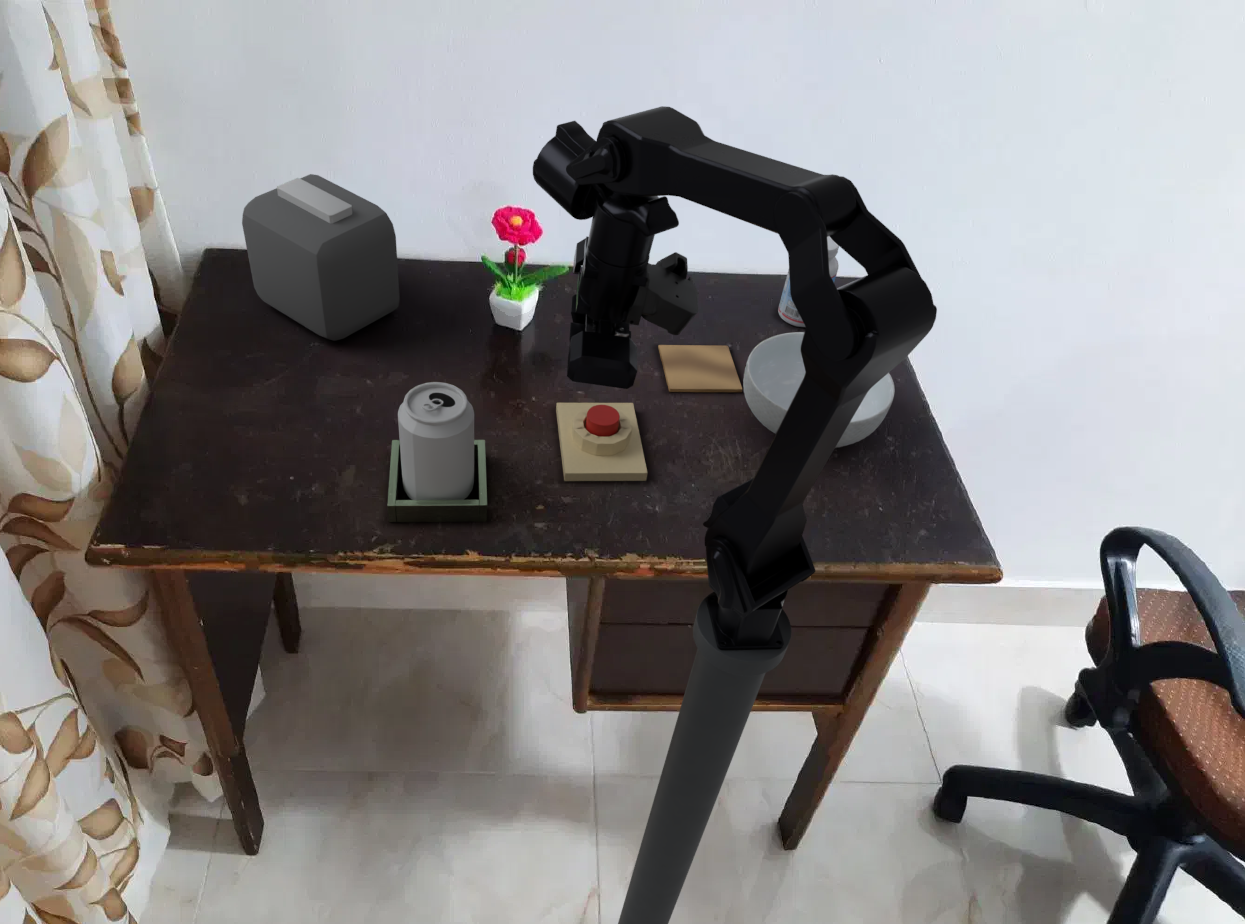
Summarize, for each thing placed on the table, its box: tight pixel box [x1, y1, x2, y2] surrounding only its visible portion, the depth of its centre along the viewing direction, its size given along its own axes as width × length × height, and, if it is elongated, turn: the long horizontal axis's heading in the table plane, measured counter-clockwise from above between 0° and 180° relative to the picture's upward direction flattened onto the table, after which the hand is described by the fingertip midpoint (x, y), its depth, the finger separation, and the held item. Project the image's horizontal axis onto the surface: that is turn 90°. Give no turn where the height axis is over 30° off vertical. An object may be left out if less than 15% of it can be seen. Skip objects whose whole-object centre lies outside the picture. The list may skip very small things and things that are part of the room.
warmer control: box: [555, 402, 648, 482], centre depth 106 cm, size 12×9×3 cm
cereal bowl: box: [742, 331, 896, 449], centre depth 109 cm, size 17×17×7 cm
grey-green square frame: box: [387, 439, 488, 523], centre depth 100 cm, size 10×10×2 cm
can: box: [397, 381, 475, 500], centre depth 96 cm, size 8×8×12 cm
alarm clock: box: [241, 173, 401, 342], centre depth 116 cm, size 16×11×16 cm
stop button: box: [586, 405, 620, 437], centre depth 105 cm, size 4×4×2 cm
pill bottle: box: [777, 236, 840, 328], centre depth 124 cm, size 6×6×11 cm
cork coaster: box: [657, 344, 743, 393], centre depth 118 cm, size 9×9×1 cm
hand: (588, 373), depth 98 cm, fingers closed
